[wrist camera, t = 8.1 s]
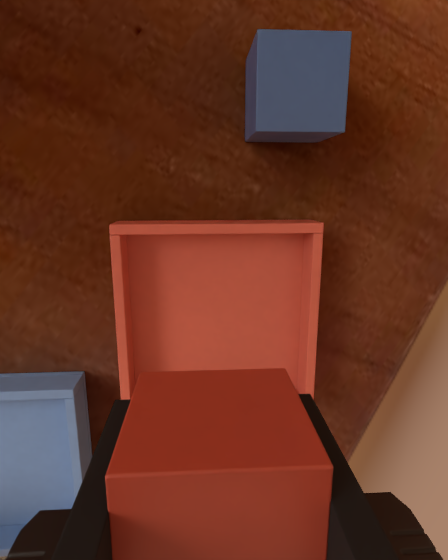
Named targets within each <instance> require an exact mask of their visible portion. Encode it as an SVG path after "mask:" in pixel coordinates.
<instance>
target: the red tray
mask: <svg viewBox="0 0 448 560" xmlns="http://www.w3.org/2000/svg"><path fill="white" fill-rule="evenodd" d="M323 228H324V223H322V222H318V221H314V220H154V221H117V222H114V223H112V224H110V225H109V234H110V248H111V263H112V277H113V292H114V306H115V321H116V335H117V350H118V364H119V379H120V393H121V400H126V399H131V398H132V395H133V392H134V389H135V386H136V383H137V380H138V377H139V374H140V372H159V371H197V370H234V369H271V368H285V369H286V370H287V373H288V375H289V377H290V379H291V381H292V383H293V385H294V387H295V389H296V391H297V393H298V394H311V396H312V398H313V400H314V383H315V366H316V349H317V332H318V315H319V297H320V280H321V263H322V246H323Z"/></svg>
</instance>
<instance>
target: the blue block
mask: <svg viewBox="0 0 448 560" xmlns="http://www.w3.org/2000/svg"><path fill="white" fill-rule="evenodd" d="M351 35H352V32H351V31H315V30H275V29H258V30H257V32H256V35H255V38H254V40H253V43H252V45H251V48H250V51H249V53H248V56H247V59H246V91H245V142H320V141H323V140H325V139H328V138H331V137H333V136H336V135H338V134H341V133H344V132H345V125H346V110H347V95H348V80H349V65H350V50H351Z"/></svg>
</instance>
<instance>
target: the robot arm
mask: <svg viewBox="0 0 448 560" xmlns="http://www.w3.org/2000/svg"><path fill="white" fill-rule="evenodd" d="M298 395H299V397H300V399H301V401H302V403H303V405H304V407H305V409H306V412H307V414H308V416H309V418H310V420H311V422H312V424H313V426H314V428H315V430H316V432H317V434H318V436H319V438H320V440H321V442H322V444H323V446H324V448H325V451H326V453H327V455H328V457H329V459H330V461H331V463H332V465H333V479H332V494H331V503H330V518H329V532H328V547H327V560H443V559H442V557H441V555H440V554H439V553H438V552H436V549H435V547H434V545H433V543H432V542H431V540H430V539H429V537H428V536H427V534H425V533H424V530H423V528H422V527H421V525H420V524H419V522H418V521H417V519H416V517H415V516H414V514H413V513H412V511H411V510H410V509H409V508H408V507H407V506H406V505H404V504H403V503H402V502H401V501H400V500H398V498H396V497H395V496H394V495H393V494H392V493H391V492H383V493H363V491H362V489H361V487H360V485H359V484H358V482H357V480H356V478H355V476H354V474H353V472H352V471H351V469H350V467H349V465H348V463H347V461H346V459H345V457H344V456H343V454H342V452H341V450H340V448H339V446H338V444H337V443H336V441H335V439H334V437H333V435H332V433H331V431H330V430H329V428H328V426H327V424H326V422H325V420H324V418H323V417H322V415H321V413H320V411H319V409H318V407H317V406H316V404H315V402H314V400H313V398H312V396H311V394H298ZM130 401H131V399H126V400H115V402H114V404H113V407H112V409H111V412H110V414H109V417H108V419H107V422H106V424H105V427H104V429H103V432H102V434H101V437H100V439H99V441H98V444H97V446H96V449H95V451H94V454H93V456H92V459H91V461H90V464H89V466H88V469H87V471H86V474H85V476H84V479H83V481H82V484H81V486H80V489H79V491H78V494H77V496H76V499H75V501H74V504H73V506H72V509H58V510H40V511H39V512H38V513H37V514H36V515H35V516H34V517H33V518H32V519H31V520H30V521H29V522H28V523H27V524H26V525H25V526H24V527H23V528H22V529H21V530H20V532H19V534H18V536H17V538H16V539H15V541H14V543H13V545H12V547H11V549H10V551H9V553H8V557H7V559H5V560H112V547H111V534H110V521H109V511H108V509H107V497H106V484H105V475H106V472H107V469H108V466H109V463H110V460H111V457H112V454H113V451H114V448H115V445H116V442H117V439H118V436H119V433H120V430H121V427H122V424H123V421H124V418H125V415H126V412H127V409H128V407H129V404H130Z"/></svg>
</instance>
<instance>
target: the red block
mask: <svg viewBox="0 0 448 560" xmlns="http://www.w3.org/2000/svg"><path fill="white" fill-rule="evenodd" d="M332 479H333V465H332V463H331V461H330V459H329V457H328V455H327V453H326V451H325V448H324V446H323V444H322V442H321V440H320V438H319V436H318V434H317V432H316V430H315V428H314V426H313V424H312V422H311V420H310V418H309V416H308V414H307V412H306V409H305V407H304V405H303V403H302V401H301V399H300V397H299V395H298V393H297V391H296V389H295V387H294V385H293V383H292V381H291V379H290V377H289V375H288V373H287V370H286V369H285V368H271V369H234V370H197V371H159V372H140V374H139V377H138V380H137V383H136V386H135V389H134V392H133V395H132V398H131V401H130V404H129V407H128V409H127V412H126V415H125V418H124V421H123V424H122V427H121V430H120V433H119V436H118V439H117V442H116V445H115V448H114V451H113V454H112V457H111V460H110V463H109V466H108V469H107V472H106V475H105V484H106V497H107V509H108V511H109V521H110V534H111V547H112V560H327V547H328V532H329V518H330V503H331V494H332Z"/></svg>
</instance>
